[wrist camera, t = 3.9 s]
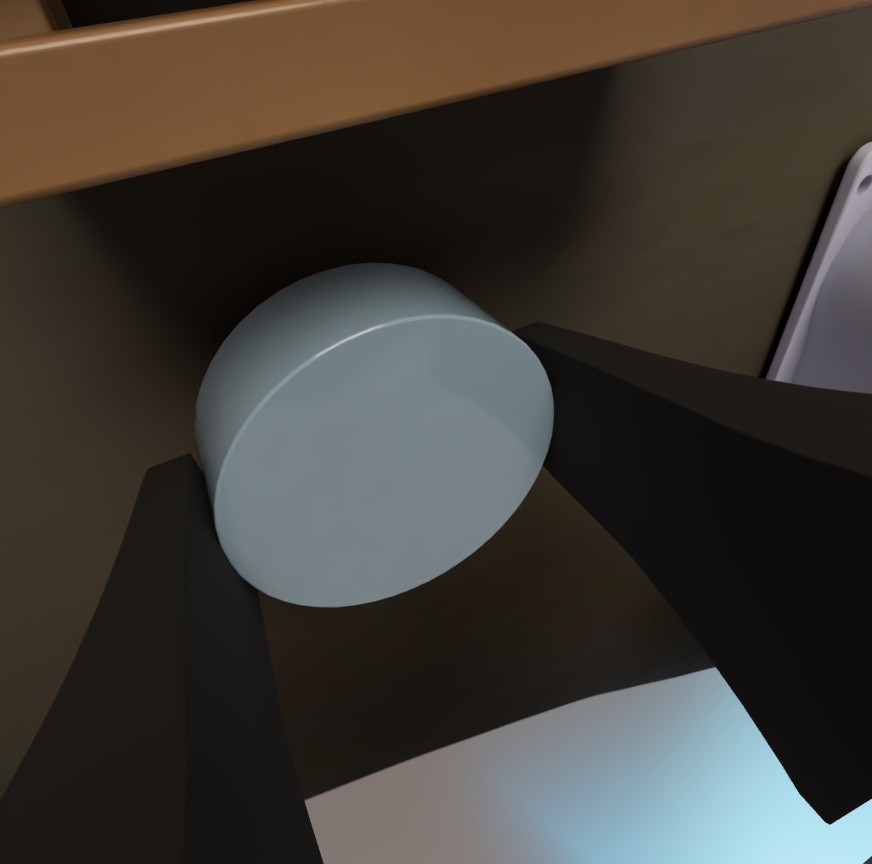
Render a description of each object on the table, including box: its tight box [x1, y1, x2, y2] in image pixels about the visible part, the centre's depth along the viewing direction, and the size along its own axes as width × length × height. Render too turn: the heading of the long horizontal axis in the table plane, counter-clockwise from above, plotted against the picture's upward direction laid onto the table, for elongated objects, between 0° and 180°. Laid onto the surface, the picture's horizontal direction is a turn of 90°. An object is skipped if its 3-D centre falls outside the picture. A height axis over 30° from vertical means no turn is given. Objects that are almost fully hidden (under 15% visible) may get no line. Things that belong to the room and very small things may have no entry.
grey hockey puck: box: [194, 263, 554, 607], centre depth 9 cm, size 6×6×3 cm
